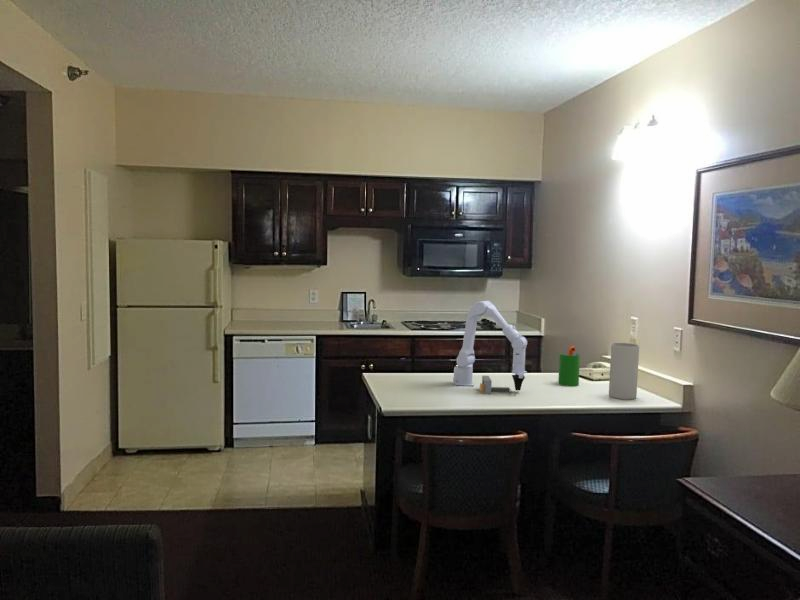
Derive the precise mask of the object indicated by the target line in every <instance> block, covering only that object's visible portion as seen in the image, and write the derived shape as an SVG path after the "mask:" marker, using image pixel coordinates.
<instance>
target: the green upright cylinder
mask: <svg viewBox="0 0 800 600" xmlns="http://www.w3.org/2000/svg"><path fill="white" fill-rule="evenodd" d="M574 352H576V346H569V347H568V354H562V353H558V354H559V356H558V358H559V360H558V378H557V379H558V381H557V382H558V385H560V386H565V387H578V386H579V385H580V361H581V354H579V353H575V354H574Z"/></svg>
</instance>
